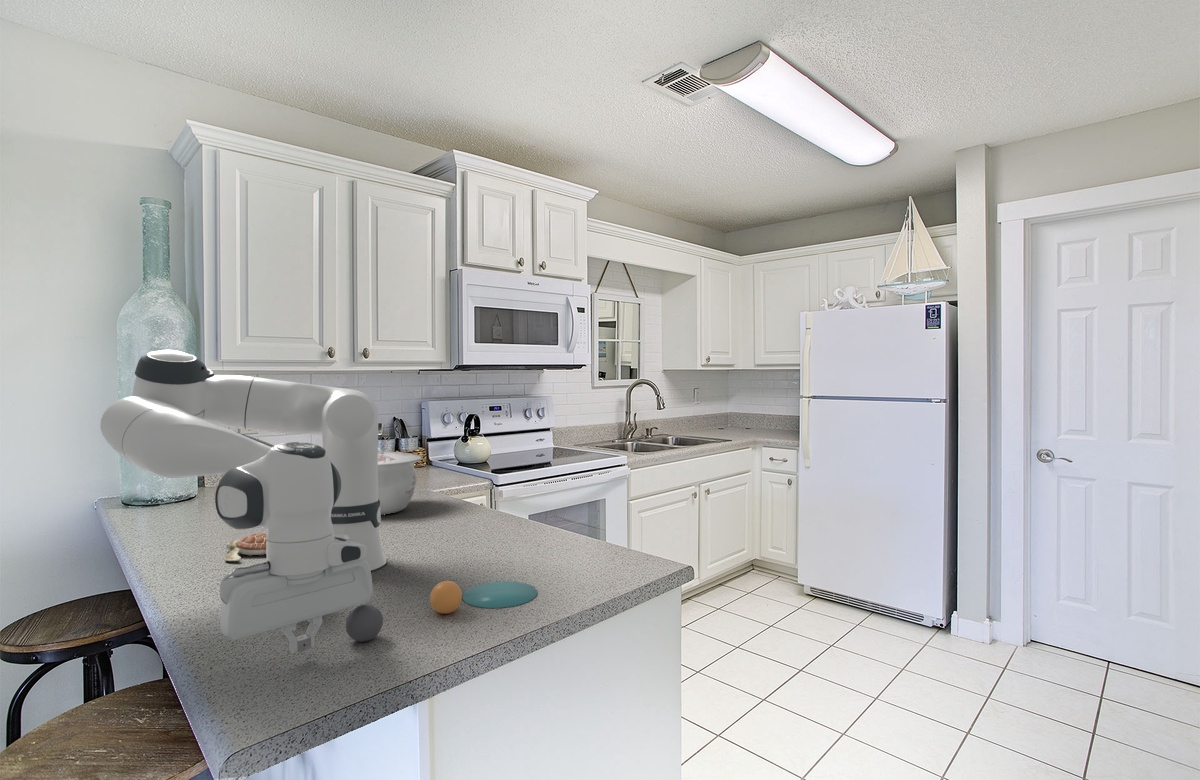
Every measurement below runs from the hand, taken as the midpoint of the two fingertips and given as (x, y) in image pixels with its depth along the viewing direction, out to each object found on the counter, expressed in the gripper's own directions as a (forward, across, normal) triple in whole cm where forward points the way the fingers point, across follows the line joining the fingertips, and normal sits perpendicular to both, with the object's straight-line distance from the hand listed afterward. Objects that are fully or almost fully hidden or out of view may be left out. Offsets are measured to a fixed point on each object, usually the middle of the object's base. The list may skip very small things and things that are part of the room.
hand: (301, 649), depth 88 cm
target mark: (+2, +36, 0) cm, 37 cm away
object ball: (-1, +24, 0) cm, 25 cm away
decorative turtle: (+2, +17, +66) cm, 69 cm away
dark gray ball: (-1, +10, 0) cm, 10 cm away
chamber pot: (+2, +58, +88) cm, 105 cm away
